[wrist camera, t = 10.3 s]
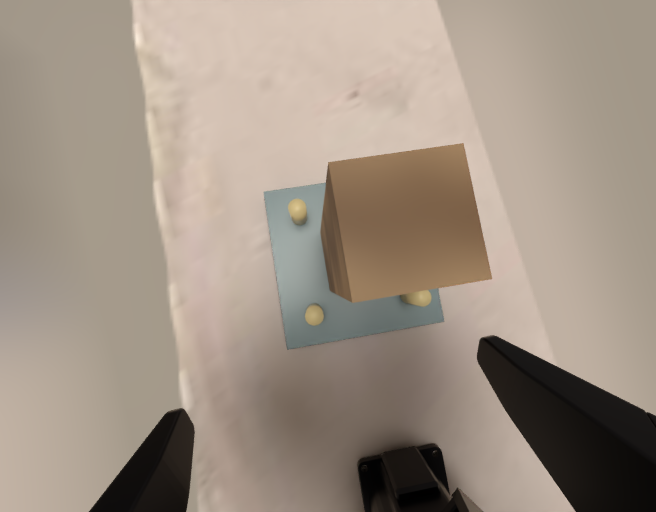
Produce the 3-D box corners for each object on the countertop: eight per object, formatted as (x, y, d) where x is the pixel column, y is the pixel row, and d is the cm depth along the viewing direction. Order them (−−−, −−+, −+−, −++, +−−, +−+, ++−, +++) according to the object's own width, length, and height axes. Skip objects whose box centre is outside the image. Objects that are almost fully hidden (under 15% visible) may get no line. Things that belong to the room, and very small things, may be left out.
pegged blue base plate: (436, 319, 24) (464, 327, 19) (289, 345, 23) (282, 360, 18) (408, 176, 24) (429, 153, 20) (266, 197, 24) (255, 177, 19)
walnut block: (387, 280, 22) (492, 278, 9) (329, 290, 22) (352, 302, 9) (377, 223, 22) (463, 143, 10) (320, 232, 22) (328, 162, 9)
